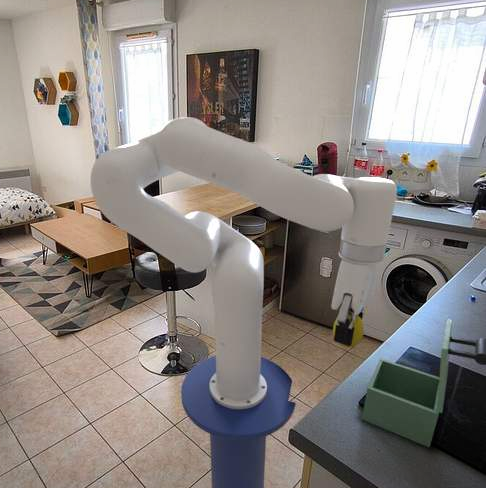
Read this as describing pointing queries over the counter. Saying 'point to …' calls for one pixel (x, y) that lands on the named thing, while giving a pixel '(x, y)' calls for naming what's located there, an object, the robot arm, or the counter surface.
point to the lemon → (357, 330)
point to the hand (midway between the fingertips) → (347, 334)
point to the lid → (482, 355)
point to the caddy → (403, 401)
